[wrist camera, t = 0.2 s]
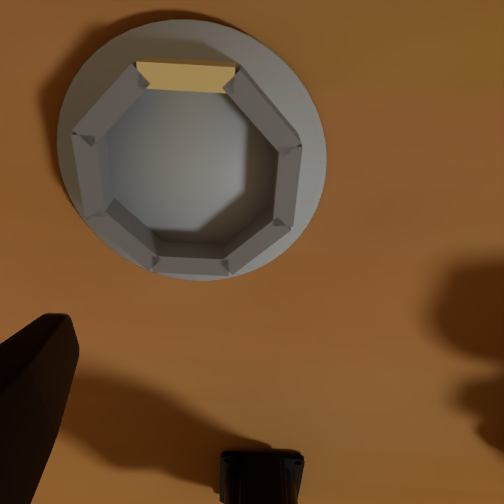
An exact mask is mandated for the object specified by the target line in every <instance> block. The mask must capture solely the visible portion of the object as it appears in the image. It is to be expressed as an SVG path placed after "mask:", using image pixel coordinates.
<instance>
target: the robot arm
mask: <svg viewBox="0 0 504 504" xmlns="http://www.w3.org/2000/svg"><path fill="white" fill-rule="evenodd" d="M78 358H79V344H78V340H77V337H76V333H75V330H74V327H73V323H72V320H71V318H70V316H69V315H67V314H62V313H47V314H44V315H42V316H40V317H39V318H37V319H36V320H34V321H33V322H31V323H30V324H29V325H27V326H26V327H24V328H23V329H21V330H20V331H18V332H17V333H15V334H14V335H13V336H11V337H10V338H8V339H7V340H5V341H4V342H2V343H1V344H0V504H31V502H32V499H33V496H34V494H35V491H36V489H37V486H38V484H39V481H40V479H41V476H42V474H43V471H44V469H45V466H46V463H47V461H48V458H49V456H50V453H51V451H52V448H53V445H54V443H55V440H56V437H57V434H58V431H59V427H60V424H61V421H62V417H63V413H64V410H65V406H66V402H67V399H68V395H69V391H70V388H71V384H72V380H73V377H74V373H75V369H76V366H77V362H78ZM303 468H304V457H303V456H302V455H299V454H274V453H248V452H224V453H222V454H221V467H220V502H222V503H224V504H298V501H297V499H298V494H299V489H300V484H301V478H302V473H303Z"/></svg>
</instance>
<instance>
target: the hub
mask: <svg viewBox="0 0 504 504" xmlns="http://www.w3.org/2000/svg"><path fill="white" fill-rule="evenodd" d="M57 153H58V162H59V167H60V171H61V175H62V179H63V182H64V184H65V187H66V190H67V192H68V195H69V197H70V199H71V201H72V202H73V204H74V206H75V208H76V210H77V212H78V213H79V214H80V216H81V217H82V219H83V220H84V222H85V223H86V224H87V226H88V227H89V228H90V229H91V230H92V231H93V232H94V233H95V235H96V236H97V237H98V238H99V239H100V240H102V241H103V242H104V243H105V244H106V245H107V246H108V247H109V248H111V249H112V250H113V251H115V252H116V253H117V254H119V255H120V256H122V257H123V258H125V259H127V260H128V261H130V262H132V263H134V264H135V265H137V266H140V267H142V268H144V269H146V270H148V271H151V272H153V273H157V274H160V275H164V276H168V277H172V278H177V279H184V280H194V281H210V280H219V279H226V278H230V277H235V276H239V275H242V274H245V273H247V272H250V271H253V270H255V269H257V268H259V267H261V266H263V265H265V264H267V263H269V262H270V261H272V260H273V259H275V258H276V257H278V256H279V255H280V254H281V253H283V252H284V251H285V250H286V249H287V248H289V247H290V246H291V245H292V244H293V243H294V241H295V240H296V239H297V238H298V237H299V236H300V235H301V233H302V232H303V231H304V229H305V228H306V226H307V225H308V223H309V222H310V220H311V218H312V216H313V214H314V212H315V210H316V208H317V205H318V203H319V200H320V197H321V195H322V190H323V186H324V181H325V174H326V162H327V161H326V144H325V139H324V133H323V128H322V125H321V122H320V119H319V116H318V113H317V110H316V108H315V106H314V104H313V102H312V100H311V98H310V96H309V94H308V92H307V90H306V88H305V87H304V86H303V84H302V83H301V81H300V80H299V78H298V77H297V75H296V74H295V73H294V72H293V70H292V69H291V68H290V67H289V66H288V65H287V64H286V63H285V62H284V60H283V59H281V58H280V57H279V56H278V55H277V54H275V53H274V52H273V51H272V50H271V49H270V48H268V47H267V46H266V45H264V44H262V43H261V42H259V41H258V40H256V39H254V38H253V37H251V36H249V35H247V34H245V33H243V32H241V31H238V30H236V29H234V28H232V27H228V26H225V25H221V24H218V23H214V22H209V21H202V20H195V19H171V20H165V21H159V22H153V23H149V24H146V25H143V26H140V27H137V28H133V29H130V30H128V31H127V32H125V33H123V34H121V35H119V36H117V37H115V38H113V39H112V40H110V41H109V42H108V43H106V44H105V45H103V46H102V47H101V48H99V49H98V50H97V51H96V52H95V53H94V54H93V55H92V56H91V57H90V58H89V59H88V60H87V61H86V62H85V63H84V64H83V66H82V67H81V69H80V70H79V71H78V73H77V74H76V76H75V77H74V78H73V80H72V82H71V84H70V86H69V88H68V90H67V92H66V94H65V97H64V101H63V104H62V107H61V110H60V114H59V120H58V127H57Z"/></svg>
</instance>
